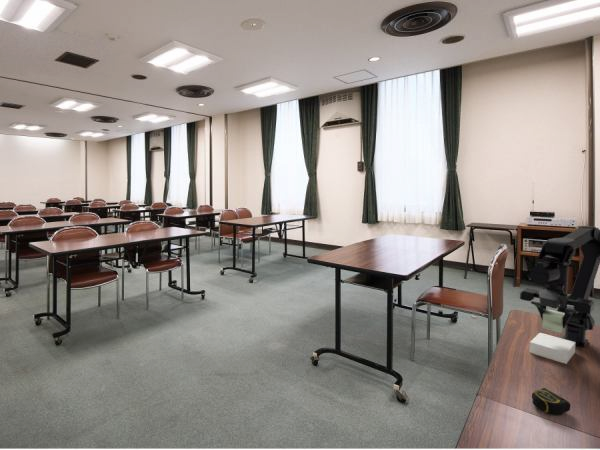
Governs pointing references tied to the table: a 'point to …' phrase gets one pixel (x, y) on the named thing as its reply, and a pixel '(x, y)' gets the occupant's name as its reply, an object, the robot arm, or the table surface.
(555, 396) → the tape measure
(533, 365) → the table surface
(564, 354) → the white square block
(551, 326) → the green cube
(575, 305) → the robot arm
